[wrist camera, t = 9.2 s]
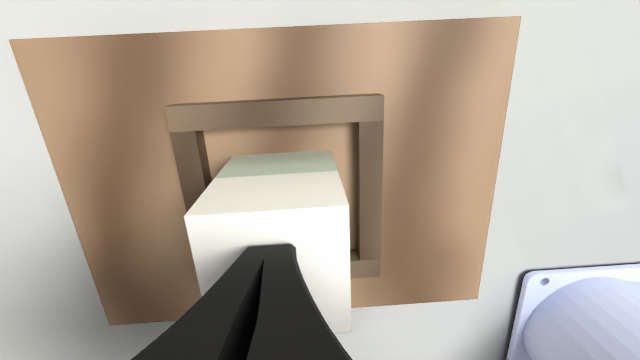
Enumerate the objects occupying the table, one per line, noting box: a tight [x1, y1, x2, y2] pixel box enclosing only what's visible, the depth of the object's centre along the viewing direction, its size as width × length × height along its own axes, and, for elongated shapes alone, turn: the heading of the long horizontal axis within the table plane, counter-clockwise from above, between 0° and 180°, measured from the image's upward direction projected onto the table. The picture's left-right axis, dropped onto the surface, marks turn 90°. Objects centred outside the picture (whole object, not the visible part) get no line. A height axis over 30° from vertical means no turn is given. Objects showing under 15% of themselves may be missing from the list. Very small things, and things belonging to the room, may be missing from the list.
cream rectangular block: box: [184, 150, 352, 333], centre depth 12 cm, size 4×4×6 cm
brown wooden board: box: [9, 16, 521, 325], centre depth 15 cm, size 20×14×2 cm
